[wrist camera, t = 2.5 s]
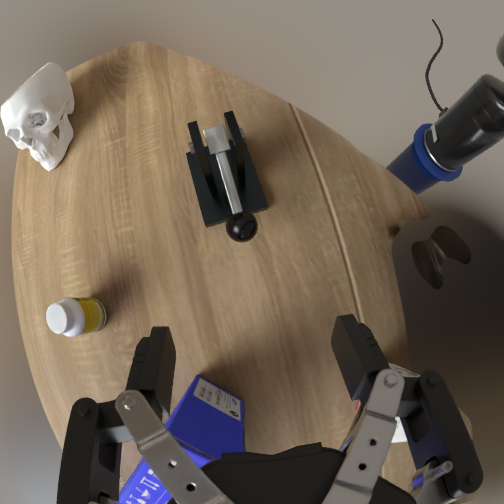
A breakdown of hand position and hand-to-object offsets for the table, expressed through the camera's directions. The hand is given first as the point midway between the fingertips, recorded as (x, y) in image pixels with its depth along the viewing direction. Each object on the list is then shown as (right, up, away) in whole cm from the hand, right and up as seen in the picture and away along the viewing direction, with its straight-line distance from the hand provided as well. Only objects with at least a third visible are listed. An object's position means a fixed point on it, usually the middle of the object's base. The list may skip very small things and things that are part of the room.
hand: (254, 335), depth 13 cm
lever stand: (-4, +14, +27) cm, 31 cm away
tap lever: (-3, +12, +19) cm, 22 cm away
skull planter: (-41, +30, +29) cm, 58 cm away
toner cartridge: (-14, -32, +21) cm, 41 cm away
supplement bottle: (-25, -6, +25) cm, 35 cm away
